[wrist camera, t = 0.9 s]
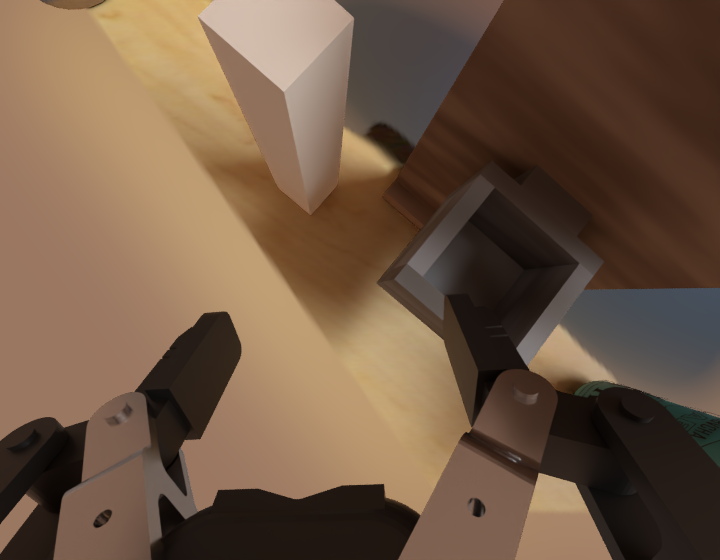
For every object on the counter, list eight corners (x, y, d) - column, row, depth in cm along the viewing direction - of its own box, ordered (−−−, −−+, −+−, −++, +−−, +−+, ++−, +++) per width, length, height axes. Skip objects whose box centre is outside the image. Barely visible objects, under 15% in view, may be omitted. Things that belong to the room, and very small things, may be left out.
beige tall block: (310, 215, 29) (283, 91, 11) (278, 187, 29) (197, 16, 11) (337, 185, 29) (354, 17, 12) (305, 157, 29) (272, -57, 11)
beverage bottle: (623, 414, 32) (1125, 618, 12) (574, 452, 31) (1022, 739, 11) (591, 361, 31) (1043, 477, 12) (541, 397, 31) (933, 589, 11)
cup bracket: (454, 364, 30) (1261, 820, 4) (329, 258, 29) (345, -15, 3) (526, 271, 31) (1497, 167, 5) (407, 167, 30) (877, -566, 4)
